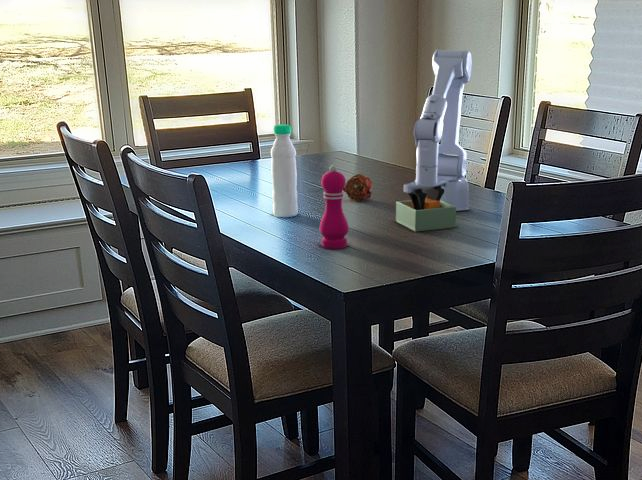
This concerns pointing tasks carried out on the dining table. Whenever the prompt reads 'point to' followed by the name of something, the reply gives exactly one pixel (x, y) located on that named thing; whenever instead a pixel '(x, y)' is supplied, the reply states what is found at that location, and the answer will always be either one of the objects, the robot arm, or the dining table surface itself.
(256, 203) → the dining table surface
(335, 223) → the pepper mill
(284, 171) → the water bottle
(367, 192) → the brown rough oval
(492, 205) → the dining table surface
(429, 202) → the orange rectangular block
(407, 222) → the open green box
